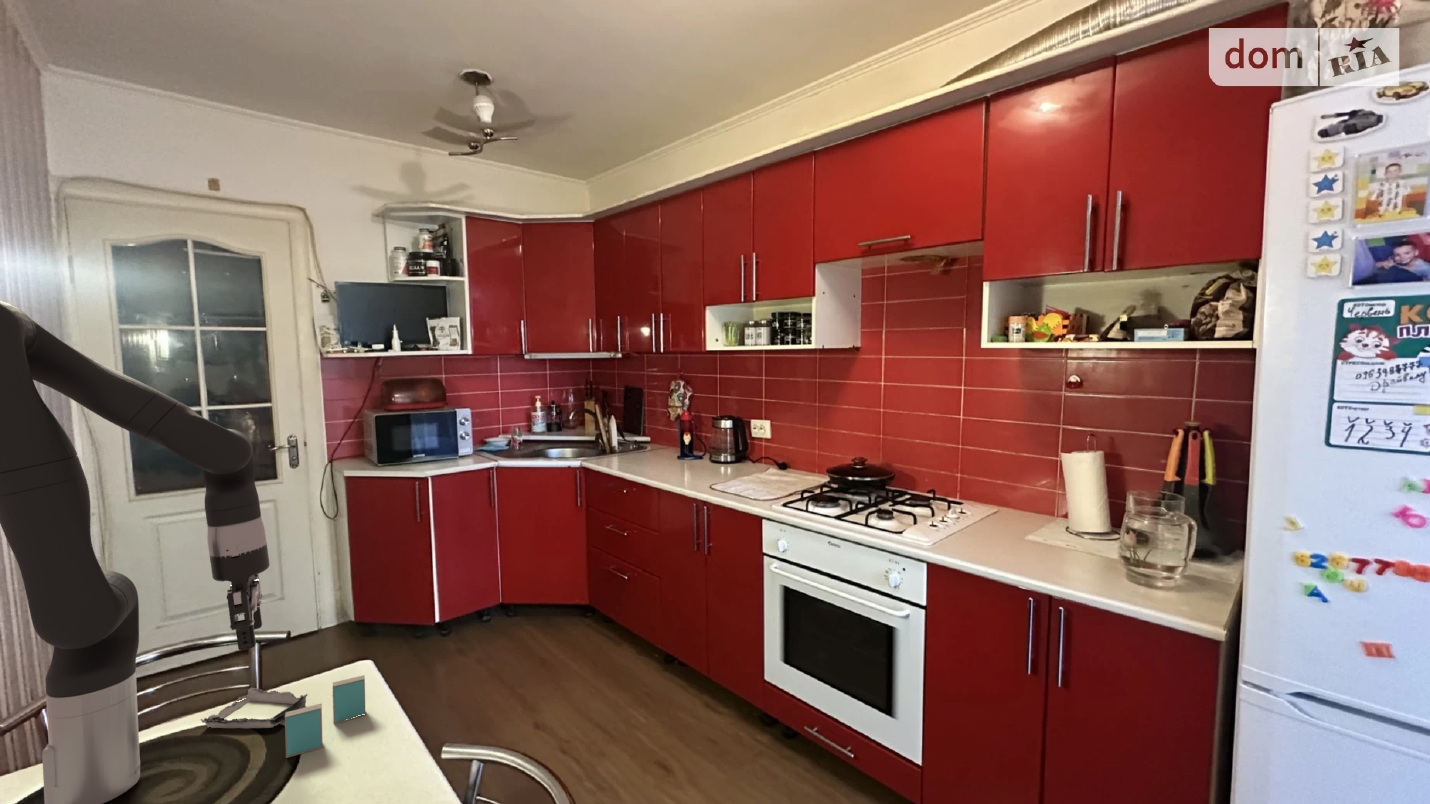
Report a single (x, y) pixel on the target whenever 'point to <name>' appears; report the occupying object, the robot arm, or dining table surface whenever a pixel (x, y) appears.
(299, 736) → the beige flat slab
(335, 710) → the beige rectangular block
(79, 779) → the robot arm
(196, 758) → the dining table surface
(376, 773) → the dining table surface
